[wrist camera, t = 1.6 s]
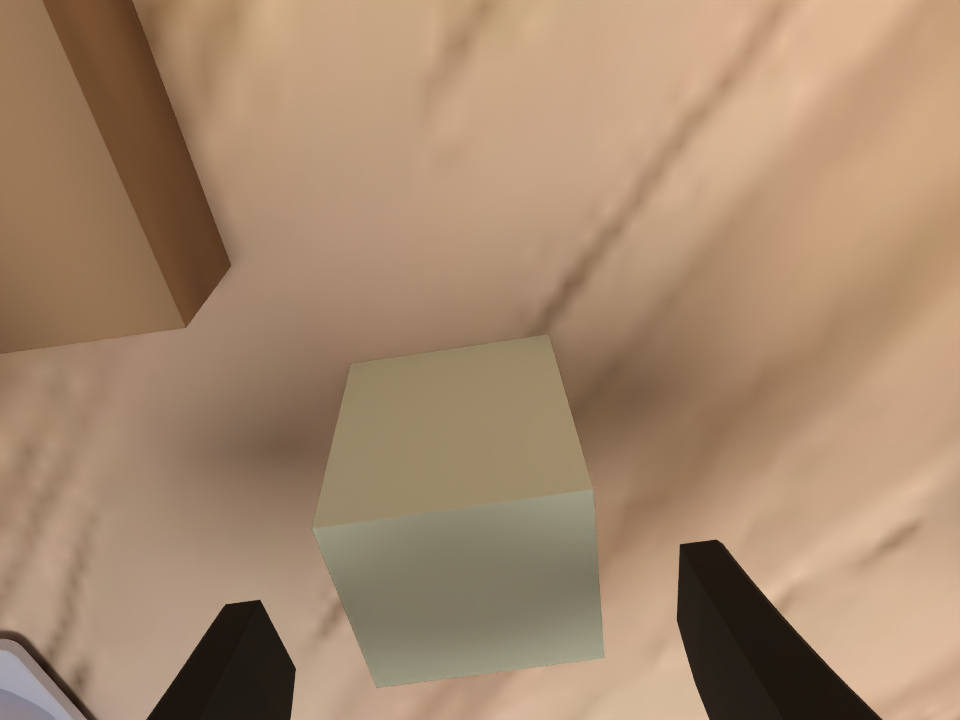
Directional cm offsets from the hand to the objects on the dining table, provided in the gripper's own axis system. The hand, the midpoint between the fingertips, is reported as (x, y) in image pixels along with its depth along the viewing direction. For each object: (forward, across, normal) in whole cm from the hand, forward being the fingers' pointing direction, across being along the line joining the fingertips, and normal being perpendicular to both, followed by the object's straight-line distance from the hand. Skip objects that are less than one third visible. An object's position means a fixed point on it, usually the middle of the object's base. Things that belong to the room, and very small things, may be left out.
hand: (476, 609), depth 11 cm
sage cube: (+5, 0, 0) cm, 5 cm away
